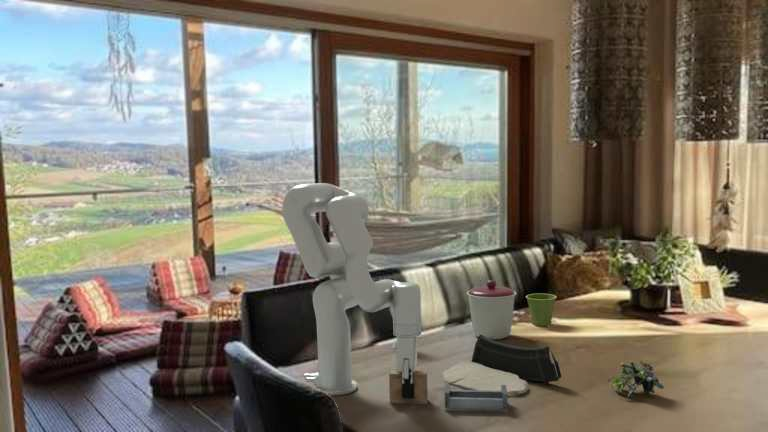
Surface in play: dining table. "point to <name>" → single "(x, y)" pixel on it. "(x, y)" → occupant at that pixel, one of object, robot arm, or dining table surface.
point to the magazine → (517, 360)
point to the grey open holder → (476, 400)
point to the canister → (491, 310)
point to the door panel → (419, 387)
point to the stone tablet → (484, 378)
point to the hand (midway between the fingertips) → (408, 394)
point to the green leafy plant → (636, 377)
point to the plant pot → (541, 308)
